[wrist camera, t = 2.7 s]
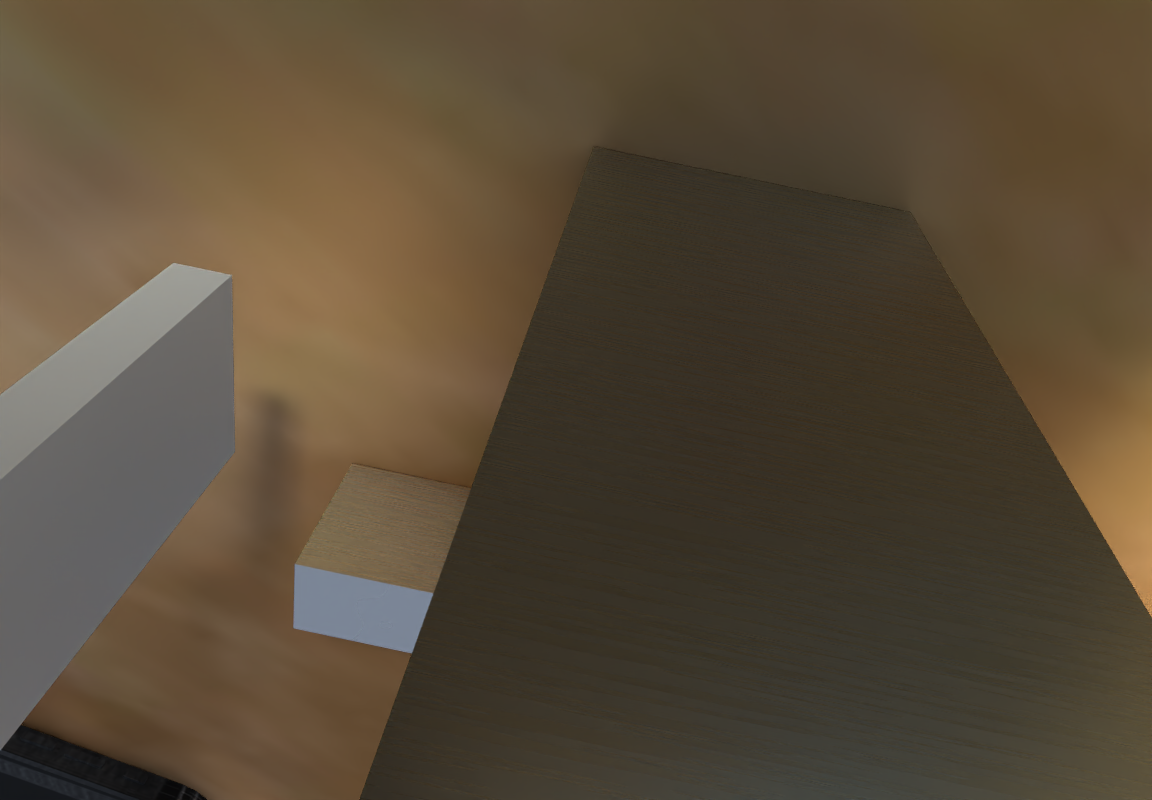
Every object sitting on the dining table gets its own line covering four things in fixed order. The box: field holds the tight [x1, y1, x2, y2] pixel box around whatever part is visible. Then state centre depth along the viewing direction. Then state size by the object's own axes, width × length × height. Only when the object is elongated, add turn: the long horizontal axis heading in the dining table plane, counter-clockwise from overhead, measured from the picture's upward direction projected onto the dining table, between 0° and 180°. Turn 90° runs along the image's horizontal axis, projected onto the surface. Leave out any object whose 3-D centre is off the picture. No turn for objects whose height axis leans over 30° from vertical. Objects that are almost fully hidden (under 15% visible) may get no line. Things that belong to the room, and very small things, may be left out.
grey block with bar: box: [293, 147, 1152, 800], centre depth 11 cm, size 8×12×12 cm
